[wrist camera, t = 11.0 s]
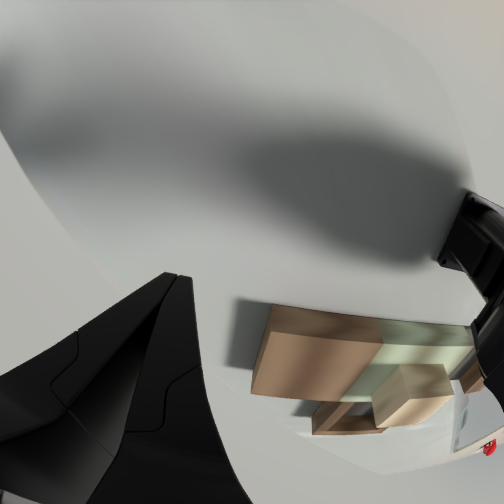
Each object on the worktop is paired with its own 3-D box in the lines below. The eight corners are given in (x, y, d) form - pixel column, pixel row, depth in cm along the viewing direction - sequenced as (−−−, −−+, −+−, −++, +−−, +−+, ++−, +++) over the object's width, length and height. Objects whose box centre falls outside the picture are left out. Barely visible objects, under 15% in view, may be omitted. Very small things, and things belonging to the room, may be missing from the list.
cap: (488, 450, 61) (498, 450, 56) (482, 457, 60) (492, 458, 54) (489, 436, 64) (499, 436, 59) (482, 443, 63) (492, 443, 57)
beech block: (443, 363, 22) (454, 395, 19) (413, 394, 25) (420, 423, 22) (399, 363, 22) (409, 399, 18) (370, 395, 25) (376, 427, 22)
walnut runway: (514, 328, 23) (523, 344, 21) (436, 410, 34) (439, 424, 32) (272, 304, 23) (271, 331, 20) (240, 409, 34) (238, 428, 31)
